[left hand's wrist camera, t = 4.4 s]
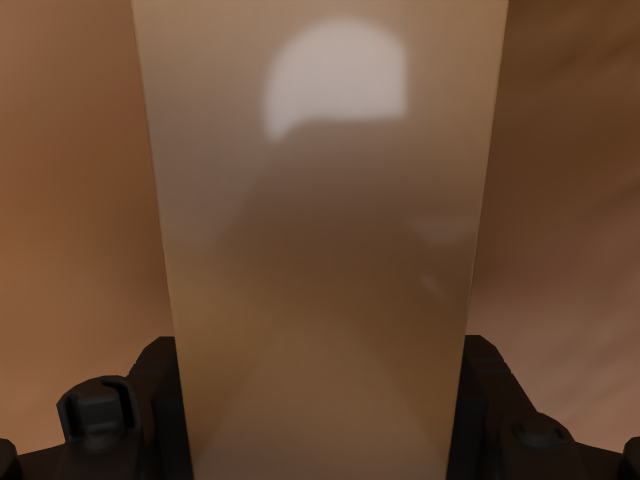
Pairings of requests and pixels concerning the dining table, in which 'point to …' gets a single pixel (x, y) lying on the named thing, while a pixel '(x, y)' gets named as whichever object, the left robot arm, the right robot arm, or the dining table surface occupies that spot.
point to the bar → (319, 223)
